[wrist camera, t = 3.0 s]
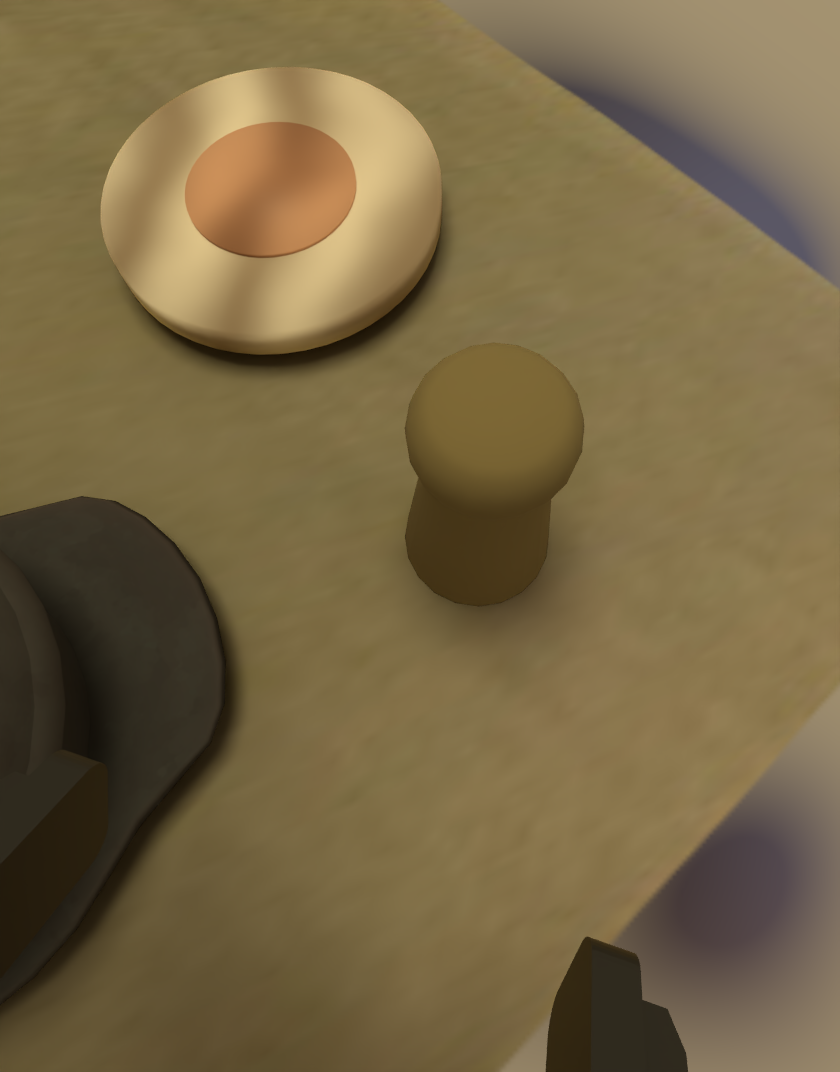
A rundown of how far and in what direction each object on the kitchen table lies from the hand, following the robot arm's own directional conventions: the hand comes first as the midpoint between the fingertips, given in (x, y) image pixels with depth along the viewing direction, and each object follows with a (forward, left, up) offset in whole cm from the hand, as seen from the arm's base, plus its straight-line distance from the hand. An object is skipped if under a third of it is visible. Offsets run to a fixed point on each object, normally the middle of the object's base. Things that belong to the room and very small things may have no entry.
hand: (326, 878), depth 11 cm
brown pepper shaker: (+3, +11, -15) cm, 19 cm away
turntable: (-7, +27, -15) cm, 32 cm away
